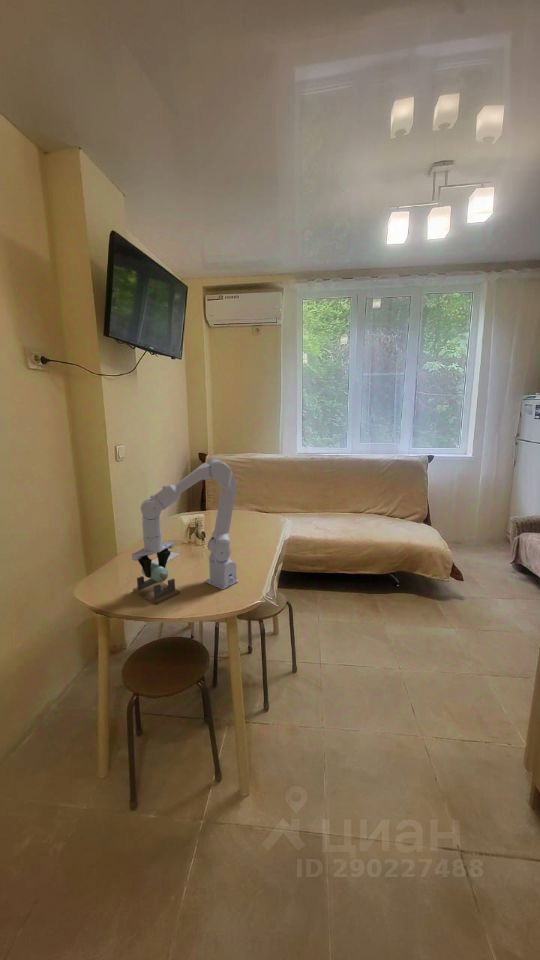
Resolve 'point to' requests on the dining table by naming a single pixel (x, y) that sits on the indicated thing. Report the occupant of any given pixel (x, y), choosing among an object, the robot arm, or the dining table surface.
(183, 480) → the robot arm
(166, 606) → the dining table surface
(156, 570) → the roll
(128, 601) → the dining table surface
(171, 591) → the holder
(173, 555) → the smartphone
